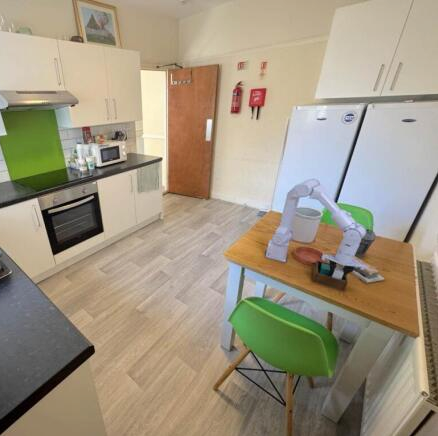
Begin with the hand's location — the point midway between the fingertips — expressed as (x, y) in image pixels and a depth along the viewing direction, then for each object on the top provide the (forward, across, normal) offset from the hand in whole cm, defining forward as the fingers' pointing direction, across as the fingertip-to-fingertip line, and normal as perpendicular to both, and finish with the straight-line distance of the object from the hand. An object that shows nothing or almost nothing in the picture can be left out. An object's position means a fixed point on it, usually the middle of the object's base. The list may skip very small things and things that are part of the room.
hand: (335, 276), depth 107 cm
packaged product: (+5, -10, -17) cm, 20 cm away
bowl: (+4, +10, -16) cm, 19 cm away
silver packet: (+1, 0, 0) cm, 1 cm away
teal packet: (+4, +4, -4) cm, 7 cm away
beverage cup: (+5, -12, -32) cm, 34 cm away
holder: (+4, +2, -2) cm, 5 cm away
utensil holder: (+5, +15, -38) cm, 41 cm away
